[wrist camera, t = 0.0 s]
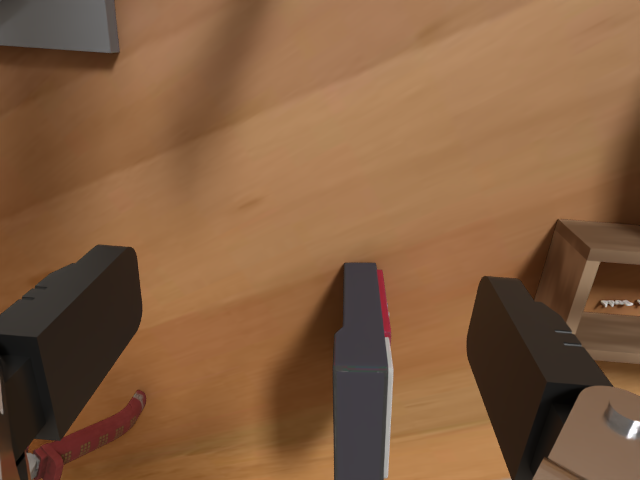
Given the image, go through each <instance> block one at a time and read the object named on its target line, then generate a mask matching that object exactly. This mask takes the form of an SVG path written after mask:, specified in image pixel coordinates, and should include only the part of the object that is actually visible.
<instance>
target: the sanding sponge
mask: <svg viewBox="0 0 640 480" xmlns="http://www.w3.org/2000/svg"><path fill="white" fill-rule="evenodd" d="M392 389H393V363H392V356H391V328H390V321H389V312H388V303H387V300H386V292H385V285H384V278H383V272H382V270H377V267H376V263H344V291H343V327H342V328H341V329H340V330H339V331H337V332H336V333H335V335H334V351H333V424H334V480H384V478H388V466H389V447H390V428H391V408H392Z"/></svg>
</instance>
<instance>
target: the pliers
mask: <svg viewBox="0 0 640 480" xmlns="http://www.w3.org/2000/svg"><path fill="white" fill-rule="evenodd" d="M145 404H146V395H145V393H144V392H142V391H140V390H137V391H136V393H135V394H134V396H133V397H132V399H131V400H130V402H129V403H128V405H127V406H126V407H125V408H124V409H123V410H121V411H120V412H118V413H117V414H115V415H113V416H111V417H109V418H107V419H105V420H102V421H100V422H98V423H95V424H93V425H91V426H88V427H86V428H84V429H82V430H79V431H77V432H75V433H72V434H70V435H68V436H65V437H63V438H62V439H61V441H54V442H52V443H47V444H45V445H42V446H41V447H40V448H38V449H36V450H34V452H33V454H31V453H28V449H29V446H28V447H27V448H26V454H27V458H28V461H29V468H30V475H31V480H32V479H35V480H38V479H40V478H42V479H43V480H60V478H61V474H62V469H63V465H64V464H66V463H68V462H70V461H72V460H75V459H77V458H79V457H81V456H83V455H85V454H87V453H89V452H91V451H93V450H95V449H97V448H99V447H101V446H103V445H105V444H107V443H109V442H111V441H113V440H115V439H117V438H118V437H120V436H122V435H123V434H124V433H126V432H127V431H128V430H129V429H130V428H131V427H132V426H133V425H134V424H135V422H136V420H137V419H138V417H139V415H140V413H141V412H142V410H143V408H144V406H145Z"/></svg>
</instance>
